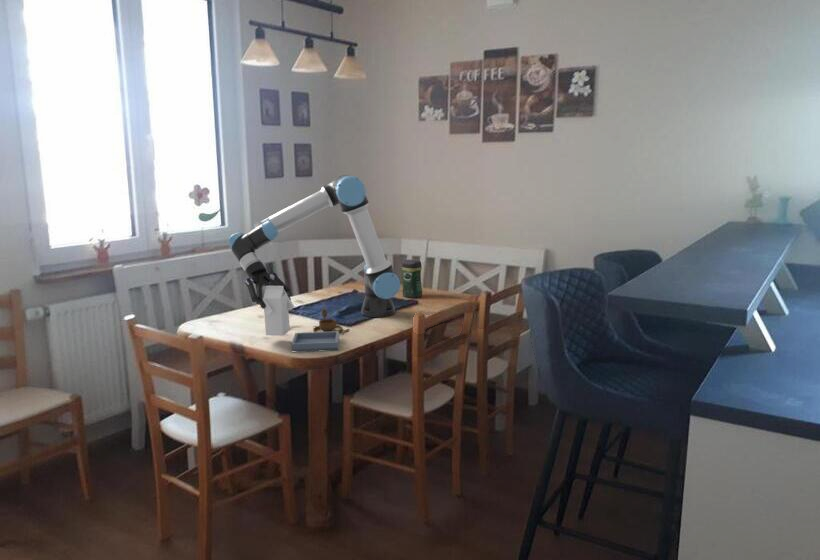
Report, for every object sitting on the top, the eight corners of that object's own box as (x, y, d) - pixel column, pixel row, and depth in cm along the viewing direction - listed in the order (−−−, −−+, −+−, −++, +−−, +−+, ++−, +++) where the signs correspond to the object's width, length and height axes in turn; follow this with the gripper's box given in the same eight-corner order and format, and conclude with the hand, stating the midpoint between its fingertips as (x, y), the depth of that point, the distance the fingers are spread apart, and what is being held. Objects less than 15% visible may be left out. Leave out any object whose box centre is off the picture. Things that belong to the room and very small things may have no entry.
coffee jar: (424, 296, 325) (424, 259, 321) (415, 299, 319) (414, 262, 315) (409, 293, 331) (409, 257, 327) (400, 296, 324) (399, 260, 321)
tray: (339, 338, 255) (338, 331, 255) (337, 350, 241) (337, 342, 240) (295, 340, 254) (295, 332, 253) (291, 352, 239) (291, 344, 239)
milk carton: (283, 336, 248) (279, 288, 244) (265, 335, 250) (262, 287, 246) (290, 330, 255) (286, 283, 251) (273, 330, 256) (269, 283, 253)
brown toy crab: (301, 335, 263) (301, 321, 261) (322, 322, 281) (321, 309, 280) (341, 338, 258) (341, 323, 257) (359, 324, 277) (359, 311, 275)
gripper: (272, 267, 266) (299, 310, 259) (225, 277, 249) (253, 323, 243) (279, 256, 261) (307, 299, 254) (232, 265, 245) (261, 311, 238)
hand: (281, 311), depth 248 cm, fingers closed on milk carton, 9 cm apart
